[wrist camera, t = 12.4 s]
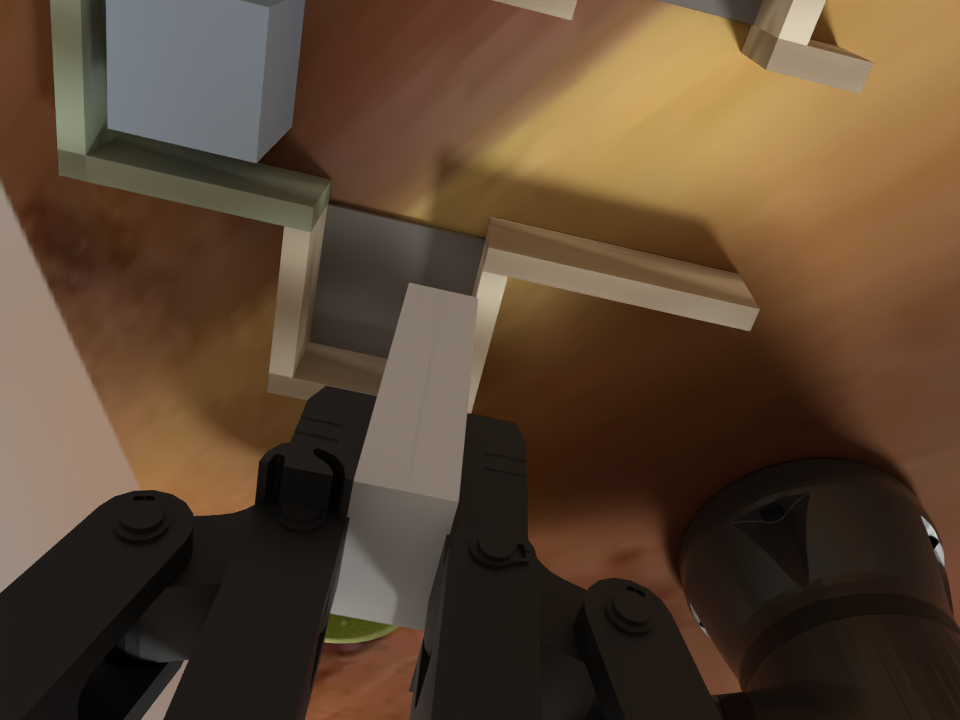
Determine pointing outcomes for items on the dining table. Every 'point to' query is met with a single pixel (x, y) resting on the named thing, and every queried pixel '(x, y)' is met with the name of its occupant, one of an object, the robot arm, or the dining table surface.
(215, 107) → the block
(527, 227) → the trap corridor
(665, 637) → the robot arm
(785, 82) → the dining table surface
